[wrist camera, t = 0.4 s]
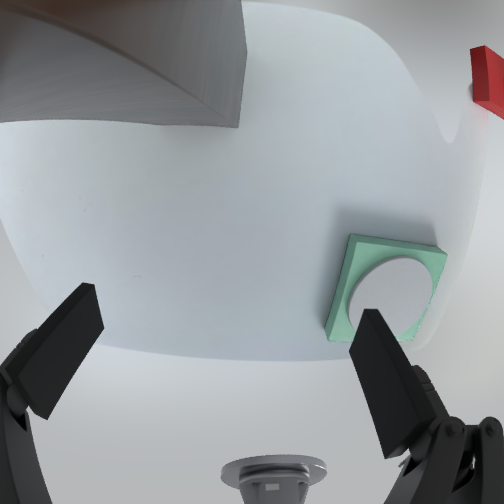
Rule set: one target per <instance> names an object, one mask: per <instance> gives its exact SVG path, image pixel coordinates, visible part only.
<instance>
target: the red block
mask: <svg viewBox="0 0 504 504" xmlns="http://www.w3.org/2000/svg"><path fill="white" fill-rule="evenodd" d="M470 55H471V65H472V79H473V102H475V103H477V104H479V105H480V106H482V107H484V108H486V109H487V110H489V111H491V112H493V113H494V114H496V115H497V116H499V117H501V118H502V119H504V59H503V58H501V57H500V56H499V55H497V54H496V53H495V52H494V51H492V50H491V49H489V48H488V47H487V46H480V47H476V48H472V49H470Z"/></svg>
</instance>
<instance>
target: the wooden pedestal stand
mask: <svg viewBox="0 0 504 504" xmlns="http://www.w3.org/2000/svg"><path fill="white" fill-rule="evenodd" d="M246 58H247V45H246V37H245V29H244V21H243V13H242V5H241V0H0V123H3V122H14V121H29V120H104V121H121V122H133V123H144V124H154V125H199V126H220V127H234V128H238V127H239V117H240V108H241V100H242V91H243V82H244V74H245V66H246Z"/></svg>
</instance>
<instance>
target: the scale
mask: <svg viewBox="0 0 504 504" xmlns="http://www.w3.org/2000/svg"><path fill="white" fill-rule="evenodd" d="M447 255H448V254H446V253H445V252H444V251H442V250H441V249H440V248H438V247H433V246H427V245H421V244H415V243H408V242H402V241H395V240H388V239H381V238H374V237H367V236H360V235H353V234H350V237H349V242H348V246H347V250H346V254H345V259H344V263H343V267H342V270H341V274H340V278H339V282H338V285H337V289H336V293H335V296H334V300H333V303H332V307H331V310H330V313H329V317H328V320H327V323H326V326H325V333H326V336H327V339H328V341H345V342H353V339H354V336H355V334H356V331H357V328H358V325H359V322H360V319H361V316H362V313H363V310H364V308H365V309H378V310H379V311H380V313H381V315H382V316H383V318H384V320H385V321H386V323H387V324H388V326H389V328H390V329H391V331H392V333H393V334H394V336H395V338H396V340H397V341H408V340H413V338H414V336H415V334H416V332H417V330H418V328H419V326H420V324H421V322H422V319H423V317H424V315H425V313H426V311H427V308H428V306H429V304H430V301H431V299H432V296H433V294H434V291H435V289H436V286H437V284H438V281H439V278H440V276H441V273H442V270H443V267H444V264H445V261H446V258H447Z"/></svg>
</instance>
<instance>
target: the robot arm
mask: <svg viewBox="0 0 504 504" xmlns="http://www.w3.org/2000/svg"><path fill="white" fill-rule="evenodd" d="M103 330H104V325H103V321H102V317H101V313H100V309H99V304H98V300H97V295H96V290H95V285H94V284H89V283H82V284H80V285H79V286H78V287H77V288H76V289H75V290H74V291H73V292H72V293H71V294H70V295H69V296H68V297H67V298H66V299H65V300H64V301H63V303H62V304H61V305H60V306H59V307H58V308H57V309H56V310H55V311H54V312H53V313H52V314H51V315H50V316H49V317H48V318H47V319H46V321H45V322H44V323H43V324H42V325H41V326H40V327H39V328H38V329H34V330H33V331H31V332H29V333H28V334H27V335H26V336H25V337H24V338H23V339H22V340H21V342H20V343H19V344H18V345H17V346H16V348H15V349H14V350H13V351H12V352H11V353H10V354H9V356H8V357H7V358H6V359H5V361H4V362H3V363H2V364H1V366H0V504H52V501H51V498H50V496H49V493H48V490H47V487H46V484H45V481H44V478H43V475H42V472H41V469H40V466H39V461H38V458H37V454H36V450H35V446H34V441H33V436H32V431H31V426H30V420H29V415H28V412H27V411H26V409H27V407H28V405H29V407H30V408H31V409H32V411H33V412H34V413H35V414H36V415H38V416H40V417H42V418H44V419H46V420H48V418H49V416H50V414H51V413H52V411H53V409H54V407H55V406H56V404H57V402H58V400H59V399H60V397H61V395H62V394H63V392H64V390H65V389H66V387H67V385H68V384H69V382H70V380H71V379H72V377H73V375H74V374H75V372H76V371H77V369H78V367H79V366H80V364H81V363H82V361H83V360H84V358H85V357H86V355H87V353H88V352H89V350H90V349H91V347H92V346H93V344H94V343H95V341H96V340H97V338H98V337H99V335H100V334H101V333H102V331H103ZM349 353H350V356H351V358H352V361H353V364H354V366H355V369H356V372H357V375H358V378H359V381H360V383H361V386H362V389H363V392H364V395H365V398H366V401H367V404H368V407H369V410H370V413H371V416H372V419H373V422H374V425H375V428H376V432H377V435H378V438H379V441H380V445H381V448H382V451H383V454H384V458H385V459H388V458H392V457H396V456H400V455H402V454H403V453H404V452H405V451H406V450H407V449H408V448H409V451H410V453H411V454H410V455H409V456H408V457H407V458H406V459H405V460H403V462H401V463H400V465H399V467H401V466H402V465H403V464H404V466H403V468H402V470H401V472H400V474H399V477H398V478H397V480H396V482H395V484H394V486H393V488H392V490H391V492H390V494H389V495H388V497H387V499H386V501H385V502H384V504H504V435H503V428H502V425H501V423H500V422H499V421H498V420H497V419H496V418H494V417H486V418H485V419H483V420H482V422H481V423H480V424H479V425H465V424H464V423H463V421H462V420H460V419H459V418H457V417H453V416H451V417H450V416H449V414H448V413H447V410H446V409H445V406H444V405H443V403H442V401H441V399H440V397H439V395H438V393H437V391H435V388H434V386H433V384H432V383H431V380H430V379H429V377H428V375H427V374H426V372H425V371H424V370H422V368H421V367H419V366H418V365H414V366H411V364H410V362H409V361H408V359H407V357H406V355H405V353H404V352H403V350H402V348H401V346H400V345H399V343H398V341H397V340H396V338H395V336H394V334H393V333H392V331H391V329H390V328H389V326H388V324H387V323H386V321H385V320H384V318H383V316H382V315H381V313H380V311H379V310H378V309H365V308H364V310H363V313H362V316H361V319H360V322H359V325H358V328H357V331H356V334H355V336H354V339H353V342H352V345H351V347H350V350H349ZM474 462H475V464H474V469H473V463H474ZM309 485H310V478H309V475H308V474H307V473H305V472H302V471H297V470H265V471H257V472H252V473H248V474H245V475H243V476H241V477H240V478H239V490H240V492H241V495H242V498H243V501H244V504H304V502H305V499H306V495H307V492H308V488H309Z"/></svg>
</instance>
